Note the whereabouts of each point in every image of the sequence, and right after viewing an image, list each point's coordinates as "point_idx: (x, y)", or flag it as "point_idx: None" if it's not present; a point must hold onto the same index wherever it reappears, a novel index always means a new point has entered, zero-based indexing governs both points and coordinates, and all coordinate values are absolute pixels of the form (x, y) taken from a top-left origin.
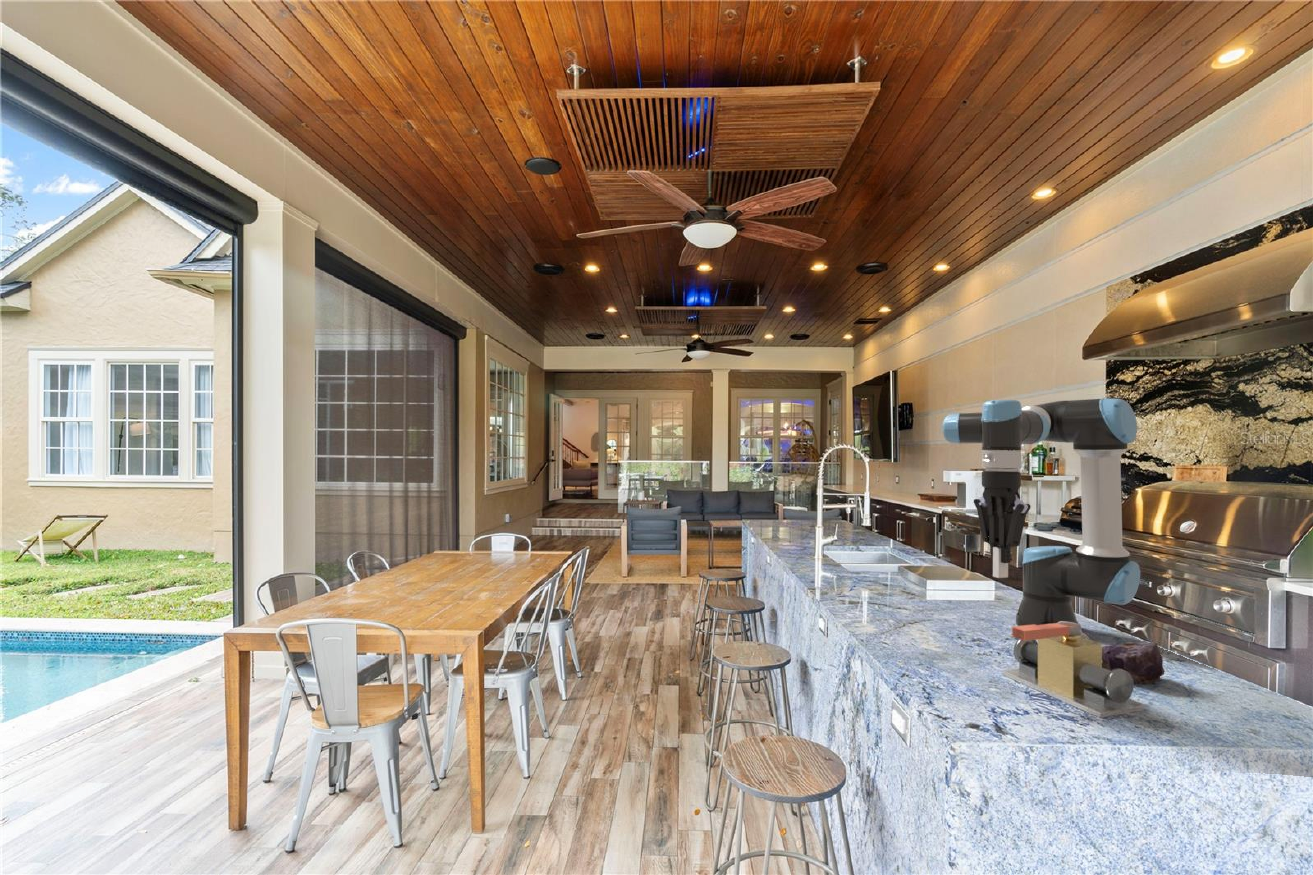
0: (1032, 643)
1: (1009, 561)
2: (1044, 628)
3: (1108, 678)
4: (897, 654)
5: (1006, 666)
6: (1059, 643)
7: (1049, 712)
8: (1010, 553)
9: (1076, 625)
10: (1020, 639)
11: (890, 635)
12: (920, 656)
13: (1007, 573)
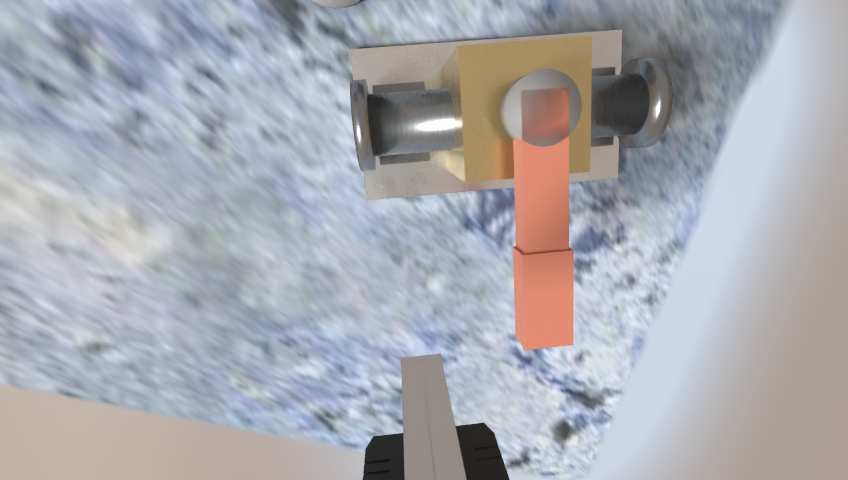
0: (387, 126)
1: (492, 437)
2: (570, 259)
3: (648, 141)
4: (191, 364)
5: (313, 139)
6: None
7: None
8: (506, 473)
9: (567, 97)
10: (363, 152)
11: (23, 296)
12: (212, 316)
13: (442, 369)
